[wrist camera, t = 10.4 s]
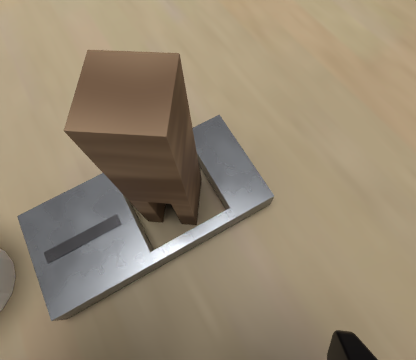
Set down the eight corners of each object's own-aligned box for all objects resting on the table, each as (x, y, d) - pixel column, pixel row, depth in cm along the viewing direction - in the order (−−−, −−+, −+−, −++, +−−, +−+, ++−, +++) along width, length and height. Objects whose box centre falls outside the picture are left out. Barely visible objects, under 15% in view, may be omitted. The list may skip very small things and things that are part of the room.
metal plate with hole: (269, 204, 23) (274, 195, 21) (66, 319, 21) (50, 321, 19) (219, 128, 25) (219, 113, 23) (34, 223, 23) (16, 215, 21)
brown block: (196, 225, 23) (166, 136, 10) (148, 221, 23) (63, 130, 11) (201, 179, 24) (179, 53, 12) (155, 176, 24) (87, 49, 12)
